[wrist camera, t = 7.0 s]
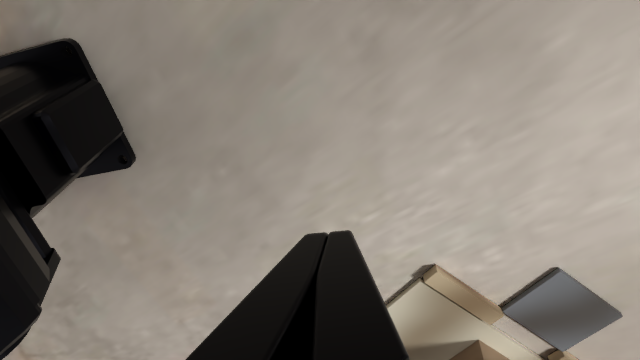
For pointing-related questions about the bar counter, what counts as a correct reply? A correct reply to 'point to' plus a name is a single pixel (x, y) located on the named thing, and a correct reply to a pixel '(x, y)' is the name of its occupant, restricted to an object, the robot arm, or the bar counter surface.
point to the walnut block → (479, 353)
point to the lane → (495, 316)
